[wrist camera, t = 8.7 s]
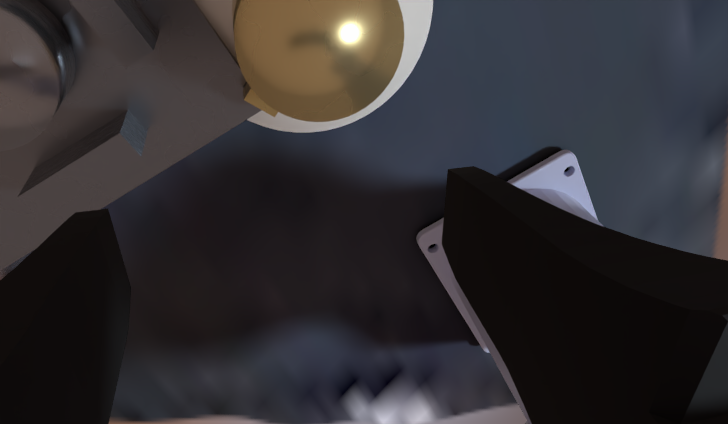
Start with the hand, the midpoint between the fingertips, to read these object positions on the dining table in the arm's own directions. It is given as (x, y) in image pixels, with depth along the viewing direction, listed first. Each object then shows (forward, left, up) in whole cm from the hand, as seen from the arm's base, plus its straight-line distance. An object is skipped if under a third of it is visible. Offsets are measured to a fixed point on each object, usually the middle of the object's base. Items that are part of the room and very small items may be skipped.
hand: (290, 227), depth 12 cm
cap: (+1, -3, -10) cm, 10 cm away
